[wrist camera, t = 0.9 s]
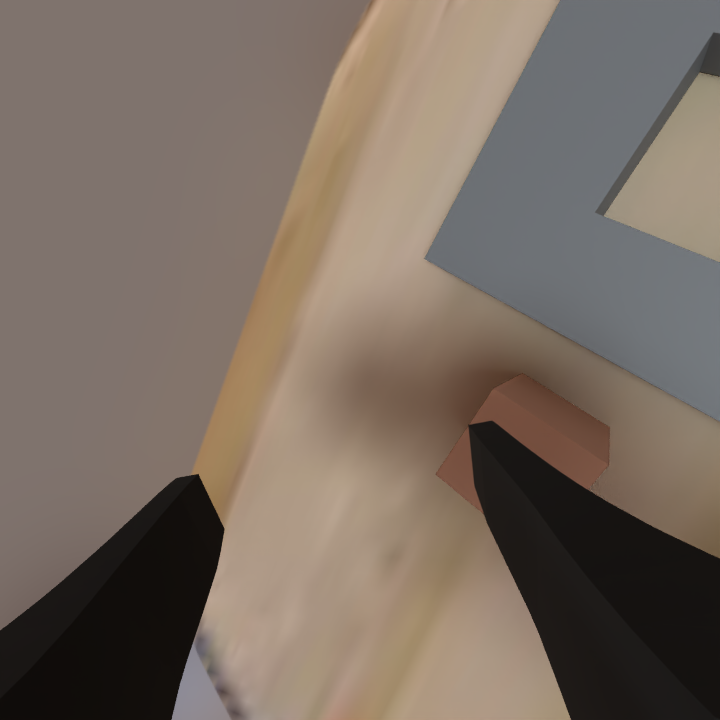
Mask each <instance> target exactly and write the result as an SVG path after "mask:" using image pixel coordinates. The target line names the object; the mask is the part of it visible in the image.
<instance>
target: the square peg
mask: <svg viewBox="0 0 720 720" xmlns="http://www.w3.org/2000/svg"><path fill="white" fill-rule="evenodd" d="M486 421H494V422H495V423H496V424H498V425H499V426H500V427H502V428H503V429H504V430H505V431H507V432H508V433H509V434H510V435H512V436H513V437H514V438H515V439H517V440H518V441H519V442H521V443H522V444H523V445H524V446H526V447H527V448H528V449H530V450H531V451H532V452H534V453H535V454H536V455H538V456H539V457H540V458H542V459H543V460H545V461H546V462H547V463H549V464H550V465H552V466H553V467H554V468H556V469H557V470H559V471H560V472H562V473H563V474H564V475H566V476H567V477H569V478H570V479H572V480H573V481H575V482H576V483H578V484H579V485H581V486H583V487H584V488H586V489H587V490H588V489H589V488H590V486H591V485H592V484H593V483H594V482H595V481H596V480H597V478H598V477H599V476H600V475H601V474H602V473H603V471H604V470H605V469H606V468H607V467H608V466H609V435H610V427H608V426H607V425H605V424H603V423H602V422H600V421H599V420H597V419H595V418H594V417H592V416H591V415H589V414H587V413H586V412H584V411H582V410H581V409H579V408H578V407H576V406H574V405H573V404H571V403H570V402H568V401H566V400H565V399H563V398H562V397H560V396H558V395H557V394H555V393H554V392H552V391H550V390H549V389H547V388H546V387H544V386H542V385H541V384H539V383H537V382H536V381H534V380H533V379H531V378H529V377H528V376H526V375H525V374H523V373H522V374H520V375H518V376H516V377H514V378H512V379H511V380H509V381H507V382H505V383H503V384H501V385H499V386H497V387H495V388H493V390H492V391H491V393H490V394H489V396H488V397H487V399H486V400H485V402H484V403H483V405H482V406H481V407H480V409H479V410H478V412H477V413H476V415H475V416H474V418H473V419H472V421H471V422H470V424H475V423H481V422H486ZM470 424H469V425H470ZM436 475H437V476H438V477H440V478H441V479H442V480H443V481H444V482H446V483H447V484H448V485H449V486H450V487H452V488H453V489H454V490H455V491H456V492H458V493H459V494H460V495H461V496H462V497H464V498H465V499H466V500H467V501H469V502H470V503H471V504H472V505H473V506H475V507H476V508H477V509H478V510H479V511H481V512H482V513H483V510H482V507H481V504H480V501H479V498H478V495H477V492H476V489H475V486H474V478H473V468H472V458H471V448H470V438H469V428H468V427H467V428H466V430H465V431H464V433H463V434H462V436H461V437H460V439H459V440H458V442H457V443H456V445H455V446H454V448H453V449H452V451H451V452H450V453H449V455H448V456H447V458H446V459H445V461H444V462H443V464H442V465H441V467H440V468H439V470H438V471H437V473H436ZM483 514H484V513H483Z"/></svg>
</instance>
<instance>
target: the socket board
mask: <svg viewBox="0 0 720 720" xmlns="http://www.w3.org/2000/svg"><path fill="white" fill-rule="evenodd" d="M699 72H703V73H708V74H712V75H717V76H720V0H560V2H559V4H558V6H557V8H556V10H555V12H554V13H553V15H552V17H551V19H550V21H549V23H548V25H547V27H546V29H545V31H544V32H543V34H542V36H541V38H540V40H539V42H538V44H537V46H536V48H535V50H534V51H533V53H532V55H531V57H530V59H529V61H528V63H527V65H526V67H525V69H524V70H523V72H522V74H521V76H520V78H519V80H518V82H517V84H516V86H515V88H514V89H513V91H512V93H511V95H510V97H509V99H508V101H507V103H506V105H505V107H504V108H503V110H502V112H501V114H500V116H499V118H498V120H497V122H496V124H495V126H494V127H493V129H492V131H491V133H490V135H489V137H488V139H487V141H486V143H485V145H484V146H483V148H482V150H481V152H480V154H479V156H478V158H477V160H476V162H475V164H474V165H473V167H472V169H471V171H470V173H469V175H468V177H467V179H466V181H465V183H464V184H463V186H462V188H461V190H460V192H459V194H458V196H457V198H456V200H455V202H454V203H453V205H452V207H451V209H450V211H449V213H448V215H447V217H446V219H445V221H444V222H443V224H442V226H441V228H440V230H439V232H438V234H437V236H436V238H435V240H434V241H433V243H432V245H431V247H430V249H429V251H428V253H427V255H426V257H425V259H426V260H427V261H429V262H431V263H433V264H435V265H436V266H438V267H440V268H442V269H444V270H445V271H447V272H449V273H451V274H453V275H455V276H456V277H458V278H460V279H462V280H464V281H465V282H467V283H469V284H471V285H473V286H475V287H476V288H478V289H480V290H482V291H484V292H485V293H487V294H489V295H491V296H493V297H494V298H496V299H498V300H500V301H502V302H504V303H505V304H507V305H509V306H511V307H513V308H514V309H516V310H518V311H520V312H522V313H524V314H525V315H527V316H529V317H531V318H533V319H534V320H536V321H538V322H540V323H542V324H543V325H545V326H547V327H549V328H551V329H553V330H554V331H556V332H558V333H560V334H562V335H563V336H565V337H567V338H569V339H571V340H573V341H574V342H576V343H578V344H580V345H582V346H583V347H585V348H587V349H589V350H591V351H592V352H594V353H596V354H598V355H600V356H602V357H603V358H605V359H607V360H609V361H611V362H612V363H614V364H616V365H618V366H620V367H622V368H623V369H625V370H627V371H629V372H631V373H632V374H634V375H636V376H638V377H640V378H641V379H643V380H645V381H647V382H649V383H651V384H652V385H654V386H656V387H658V388H660V389H661V390H663V391H665V392H667V393H669V394H671V395H672V396H674V397H676V398H678V399H680V400H681V401H683V402H685V403H687V404H689V405H690V406H692V407H694V408H696V409H698V410H700V411H701V412H703V413H705V414H707V415H709V416H710V417H712V418H714V419H716V420H718V421H720V262H717V261H715V260H712V259H710V258H707V257H705V256H702V255H700V254H697V253H695V252H692V251H690V250H687V249H685V248H682V247H680V246H677V245H675V244H672V243H670V242H667V241H665V240H662V239H660V238H657V237H655V236H652V235H650V234H647V233H645V232H642V231H640V230H637V229H635V228H632V227H629V226H627V225H624V224H622V223H619V222H617V221H614V220H612V219H609V218H607V217H604V214H605V213H606V211H607V210H608V208H609V207H610V205H611V204H612V202H613V201H614V199H615V198H616V196H617V195H618V193H619V192H620V190H621V189H622V187H623V186H624V184H625V183H626V181H627V180H628V178H629V177H630V175H631V174H632V172H633V171H634V169H635V168H636V166H637V165H638V163H639V162H640V160H641V159H642V157H643V156H644V154H645V153H646V151H647V150H648V148H649V147H650V145H651V144H652V142H653V141H654V139H655V138H656V136H657V135H658V133H659V132H660V130H661V129H662V127H663V126H664V124H665V123H666V121H667V120H668V118H669V117H670V115H671V114H672V112H673V111H674V109H675V108H676V106H677V105H678V103H679V102H680V100H681V99H682V97H683V96H684V94H685V93H686V91H687V90H688V88H689V87H690V85H691V84H692V82H693V81H694V79H695V78H696V76H697V75H698V73H699Z"/></svg>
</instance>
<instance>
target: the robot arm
mask: <svg viewBox="0 0 720 720" xmlns="http://www.w3.org/2000/svg"><path fill="white" fill-rule="evenodd" d="M468 428H469V438H470V448H471V458H472V468H473V478H474V486H475V489H476V492H477V495H478V498H479V501H480V504H481V507H482V510H483V513H484V515H485V518H486V521H487V524H488V526H489V528H490V530H491V532H492V534H493V536H494V538H495V541H496V543H497V545H498V547H499V549H500V551H501V553H502V555H503V557H504V559H505V562H506V564H507V566H508V568H509V570H510V572H511V574H512V576H513V578H514V580H515V582H516V584H517V587H518V589H519V591H520V593H521V595H522V597H523V599H524V601H525V603H526V605H527V607H528V609H529V612H530V614H531V616H532V619H533V621H534V623H535V626H536V628H537V630H538V633H539V635H540V638H541V640H542V643H543V646H544V648H545V651H546V654H547V656H548V659H549V661H550V664H551V667H552V669H553V672H554V675H555V677H556V680H557V683H558V685H559V688H560V691H561V693H562V696H563V699H564V702H565V704H566V707H567V710H568V713H569V715H570V718H571V720H720V558H717V557H715V556H713V555H711V554H708V553H706V552H704V551H702V550H700V549H698V548H696V547H694V546H692V545H689V544H687V543H685V542H683V541H681V540H679V539H677V538H675V537H672V536H670V535H668V534H666V533H664V532H662V531H660V530H658V529H656V528H654V527H653V526H651V525H649V524H647V523H645V522H643V521H641V520H639V519H638V518H636V517H634V516H632V515H630V514H628V513H627V512H625V511H623V510H621V509H619V508H617V507H616V506H614V505H612V504H610V503H609V502H607V501H605V500H604V499H602V498H600V497H598V496H597V495H595V494H594V493H592V492H590V491H589V490H587V489H586V488H584V487H583V486H581V485H579V484H578V483H576V482H575V481H573V480H572V479H570V478H569V477H567V476H566V475H564V474H563V473H562V472H560V471H559V470H557V469H556V468H554V467H553V466H552V465H550V464H549V463H547V462H546V461H545V460H543V459H542V458H540V457H539V456H538V455H536V454H535V453H534V452H532V451H531V450H530V449H528V448H527V447H526V446H524V445H523V444H522V443H521V442H519V441H518V440H517V439H515V438H514V437H513V436H512V435H510V434H509V433H508V432H507V431H505V430H504V429H503V428H502V427H500V426H499V425H498V424H496V423H495V422H494V421H486V422H481V423H475V424H470V425H468ZM223 535H224V527H223V525H222V523H221V521H220V519H219V516H218V514H217V512H216V510H215V508H214V506H213V504H212V502H211V500H210V498H209V495H208V493H207V491H206V489H205V487H204V485H203V483H202V481H201V479H200V476H199V474H196V475H191V476H185V477H180V478H176V479H175V480H174V481H172V482H171V483H170V484H169V485H168V486H166V487H165V488H164V489H163V490H162V491H161V492H160V493H158V494H157V495H156V496H155V497H154V498H153V499H152V500H151V501H150V502H149V503H148V504H147V505H145V506H144V507H143V508H142V509H141V511H139V512H138V513H137V514H136V515H135V516H134V517H133V518H132V519H131V520H130V521H128V523H126V524H125V525H124V526H123V527H122V528H121V529H120V530H119V531H118V532H117V533H116V534H115V535H114V536H112V537H111V538H110V539H109V540H108V541H107V542H106V543H105V544H104V545H103V546H101V547H100V548H99V549H98V550H97V551H96V552H95V553H94V554H93V555H91V556H90V557H89V558H88V559H87V560H86V561H85V562H83V563H82V564H81V565H80V566H79V567H78V568H77V569H75V570H74V571H73V572H72V573H71V574H70V575H69V576H68V577H66V578H65V579H64V580H63V581H62V582H61V583H59V584H58V585H57V586H56V587H55V588H53V589H52V590H51V591H50V592H49V593H47V594H46V595H45V596H44V597H43V598H41V599H40V600H39V601H38V602H36V603H35V604H34V605H33V606H31V607H30V608H29V609H27V610H26V611H25V612H24V613H22V614H21V615H20V616H18V617H17V618H16V619H15V620H13V621H12V622H11V623H9V624H8V625H7V626H6V627H4V628H3V629H2V630H0V720H171V719H172V715H173V710H174V706H175V702H176V698H177V694H178V690H179V686H180V682H181V679H182V675H183V672H184V669H185V665H186V662H187V659H188V656H189V653H190V650H191V647H192V644H193V641H194V638H195V635H196V632H197V629H198V626H199V623H200V620H201V617H202V614H203V611H204V608H205V605H206V602H207V598H208V595H209V592H210V589H211V586H212V583H213V580H214V577H215V573H216V570H217V566H218V562H219V557H220V552H221V547H222V541H223Z"/></svg>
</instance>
